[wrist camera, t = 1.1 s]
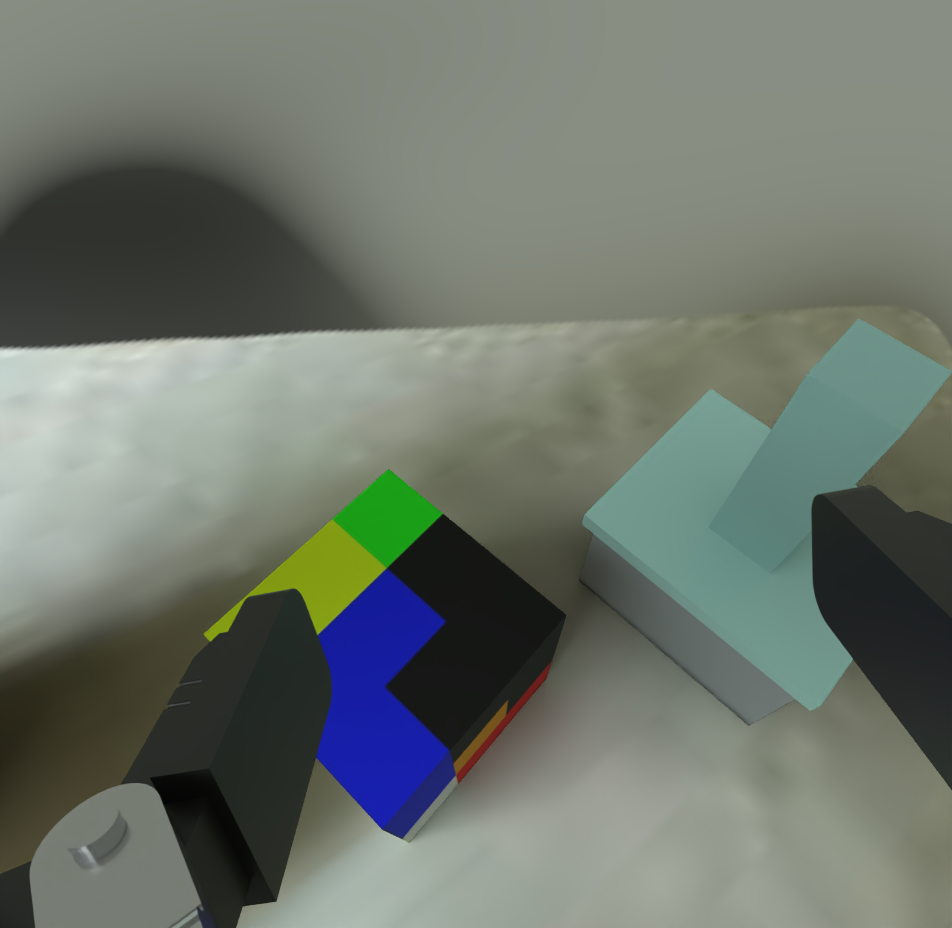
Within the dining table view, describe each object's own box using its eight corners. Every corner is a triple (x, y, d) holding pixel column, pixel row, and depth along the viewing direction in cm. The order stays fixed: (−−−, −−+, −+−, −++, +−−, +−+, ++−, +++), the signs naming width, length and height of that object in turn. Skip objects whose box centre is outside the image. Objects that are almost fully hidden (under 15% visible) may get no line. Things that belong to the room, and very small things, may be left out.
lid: (581, 524, 32) (628, 357, 22) (705, 400, 36) (795, 207, 25) (810, 711, 28) (1004, 612, 17) (924, 548, 31) (1140, 387, 21)
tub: (578, 579, 38) (596, 523, 32) (674, 479, 41) (707, 411, 35) (748, 725, 34) (805, 693, 28) (840, 601, 37) (909, 548, 31)
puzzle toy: (409, 842, 32) (382, 829, 23) (271, 693, 35) (203, 634, 27) (546, 678, 35) (566, 615, 27) (409, 558, 39) (388, 468, 30)
